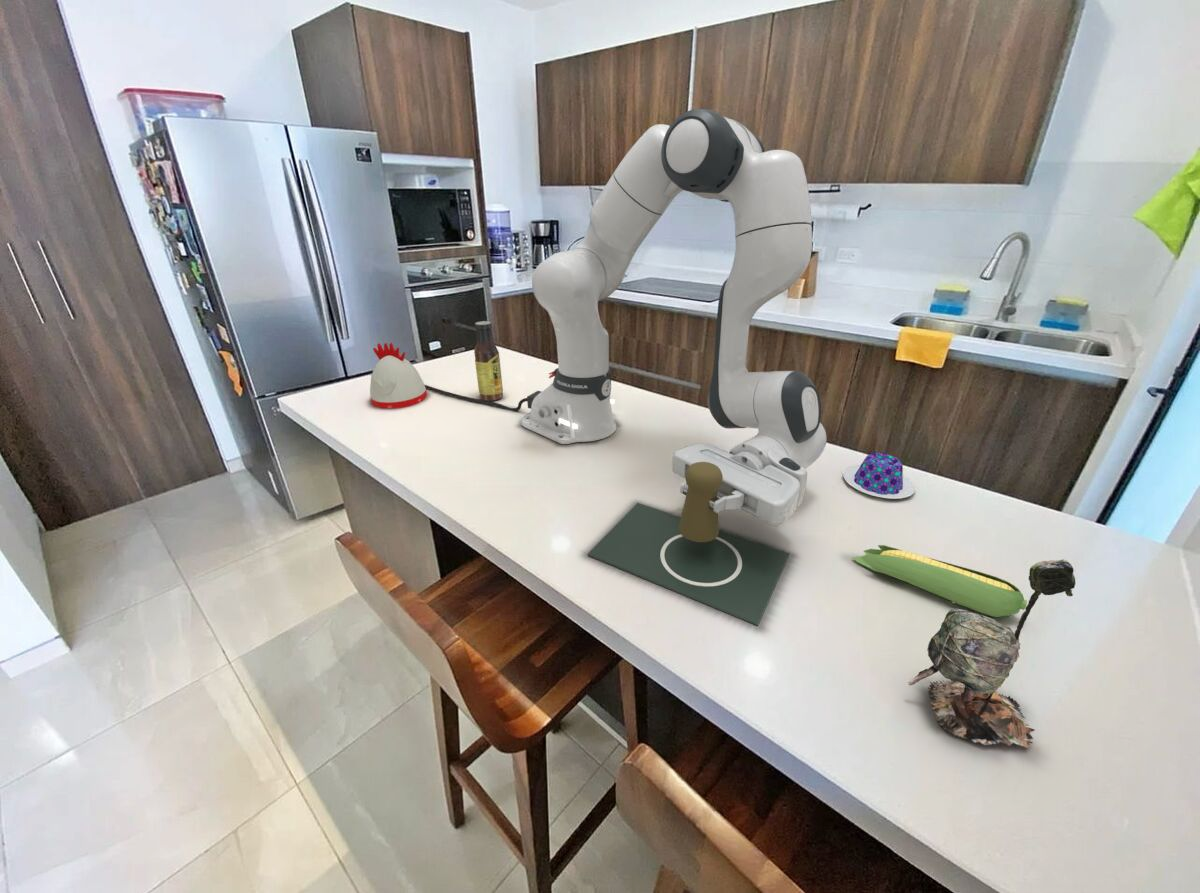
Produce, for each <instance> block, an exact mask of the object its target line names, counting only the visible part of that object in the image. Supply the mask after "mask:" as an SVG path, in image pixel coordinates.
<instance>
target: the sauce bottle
mask: <svg viewBox="0 0 1200 893" xmlns="http://www.w3.org/2000/svg"><path fill="white" fill-rule="evenodd" d="M474 327H475V330H476V340H477V342H476V345H475V346H474V348H473V350H474V351H473V352H474V364H475V371H476V372H475V373H476V379H477V388H478V393H479V399H480V400H484V401H490V402H494V401H498V400H500V399H501V398H503V396H504V395H503V394H504V392H503V391H504V387H503V376H502V369H501V359H500V352H499V350H498V347H497V345H496V344H495V341H494V337H493V330H492V328H493V326H492V322H491V321H489V320H488V321H487V320H482V321H477V322H475V323H474Z"/></svg>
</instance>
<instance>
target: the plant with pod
mask: <svg viewBox="0 0 1200 893" xmlns="http://www.w3.org/2000/svg"><path fill="white" fill-rule="evenodd" d="M1074 571H1075V569H1074V568H1073V566H1072V564H1071V563H1070V562H1069V561H1068V560H1067V559H1056V560H1055V559H1053V560H1042V561H1039V562H1038V561H1037V562H1036V563H1035V564H1033V565H1031V567H1030V568H1029V573H1028V574H1029V575H1028V581H1029V586H1030V588H1031V589H1032V590H1033V591H1034V592H1033V593H1032V594H1031V596H1030V597H1029V600H1028V602H1027V605H1026V608H1025V610H1023V612H1022V614H1021V617H1020V619H1019V620H1018V623H1017V625H1016V630H1015V631H1013V629H1012V628H1011V627H1009V626H1006V625H1005V624H1002V623H1000V622H999V621H998V620H995V619H994V618H991V617H990V616H989V617H988V616H987V615H984V614H981V613H976V612H974V611H969V610H967V609H960V608H950V610H949V611H948V612H946V614H945V617H944V619H943V622H942V623H941V625H940V628H939V629H938V631H937V632H936V633H934V635H933V636H932V637H931V638H930V640H929V642H928V644H927V650H926V651H927V656H928V658H929V659H930V661H931V662H932V665H931V666H930V667H929V668H925V669H923V670H921V671H919V672H918V674H917V675H916V676H915V677H913V678H912V679H910V681H907V685H908V686H913V685H915V684H916V683H918V682H920V681H921V680H924V679H926V678H928V677H930V676H933V675H934V674H937V673H938V672H939V673H940V674H941V675H942V676H943V677H944V678H945V679H947V680H946V681H945V680H944V679H942V681H941V679H940V680H939V679H938V680H936V681H929V683H930V684H929V687H927V688H928V692H929V694H928V695H929V696H930V705H933V707H932V708H931V709H932V710H933V713H934V714H935V718H936V719H935V720H936V722H937V721H938V725H940V726H941V727H942V728H943V730H945V731H947V732H949V734H951V735H952V736H955V737H957V736H958V737H959V738H962V739H965V740H967V739H968V740H969V741H972V742H973V743H980V744H981V745H984V746H986V745H987V746H989V745H992V744H993V745H999V744H1000V743H1002V744H1005V745H1006V746H1009V747H1011V746H1012V745H1013V744H1015V745H1017V746H1021V747H1024V748H1026V749H1029V748H1030V746H1031V745H1032V744H1033V741H1031V740H1033V739H1034V737H1033V736H1032V735H1031V734H1030V733H1033V732H1035V731H1036V729H1035V728H1031V727H1030V724H1028V723H1027V721H1026V720H1025V719H1027V718H1026V717H1025V715H1023V712H1022V708H1020V707H1021V704H1020V703H1019V702H1018V701H1017V700H1015V699H1014V698H1013V697H1011V696H1010V695H1008V696H1007V695H1004V694H1003V693H1002V694H1001V693H998V692H997V691H998V689H999V688H1001V687H1002V685H1003V684H1004V682H1005V681H1006V679H1008V678H1009V677H1010V672H1011V670H1012V669H1013V668H1014V665H1015V663H1016V662H1017V661H1018V659H1019V658H1020V652H1019V650H1020V649H1021V643H1020V639H1019V638H1020V635H1021V631H1022V629H1023V627H1024V624H1025V622H1026V621H1027V618H1028V616H1029V615H1030V613H1031V610H1032V608H1034V605H1035V604H1036V603H1037V601H1038V599H1039V598H1040V596H1041V595H1043V596H1053V595H1056V594H1061V593H1064V592H1065V595H1066V596H1067V597H1073V596H1074V594H1073V589H1075V587H1076V584H1077V582H1076V576H1075V575H1074ZM955 602H956V601H952V602H951V603H952V604H956V603H955Z"/></svg>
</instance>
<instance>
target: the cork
mask: <svg viewBox="0 0 1200 893" xmlns="http://www.w3.org/2000/svg"><path fill="white" fill-rule="evenodd" d="M684 479H685V481H686V484H687V485H688V490H687V494H686V496H685V498H684V502H683V507H682V511H681V515H680V517H681V519H680V523H679V527H678V528H679V532H680V533H681V535H682V536H684V537H685V538H686V539H689V540H691V541H695V542H708V541H712V540H714V539H715V538H716V537H717V536H718V534H719V530H720V521H719V519H720V518H719V513H716V512H714V511H712V510H711V509H709V500H710V499H712V498H714V497H715V496H716V495H718V493H717V490H718V489H719V488H720V486H721V483H722V479H723V476H722V472H721V470H720V468H719V467H718V466H716V465H714V464H712V463H709V462H696V463H693V464H692V465H690V466H689V467H688V469H687V471H686V474H685V478H684Z"/></svg>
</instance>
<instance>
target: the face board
mask: <svg viewBox="0 0 1200 893" xmlns="http://www.w3.org/2000/svg"><path fill="white" fill-rule="evenodd" d="M680 519H681V516H678V515H675V514H673V513H669V512H666V511H664V510H661V509H658V508H654V507H652V506H649V505H645V504H643V503H640V502H637V503H636V504H634V506H632V508H630V510H629V511H628V512H627V513H626V514H625V515H624V516H623V517H622V518H621V519H620V520H619V521H618V522H617V523H616V524H615V525H613V527H612V528H611V529H610V530H609V531H608V532H607V533H606V534H605V535H604V536H603V537H602V538H601V540H599V541H598V542H597V544H596V545H595V546H594V547H593V548H592V549H590V551H589V552H588V553H587V556H588V557H590V558H593V559H595V560H597V561H600V562H603V563H604V564H607V565H609V566H612V567H614V568H617V569H619V570H621V571H623V572H627V573H628V574H631V575H634V576H636V577H638V578H641V579H643V580H645V581H648V582H651V583H653V584H656V585H658V586H659V587H663V588H665V589H668V590H670V591H673V592H674V593H677V594H679V595H682V596H685V597H687V598H689V599H692V600H694V601H697V602H699V603H701V604H704V605H705V606H706V605H707V606H708V607H711V608H713V609H715V610H718V611H720V612H723V613H726V614H728V615H731V616H733V617H735V618H737V619H741V620H742V621H744V622H747V623H749V624H752V625H754V626H757V627H758V626H759V624H760V622H761V620H762V618H763V615H764V612H765V611H766V608H767V606H768V604H769V601H770V599H771V597H772V595H773V592H774V590H775V588H776V586H777V584H778V581H779V579H780V576H781V574H782V572H783V570H784V568H785V565H786V563H787V561H788V558H789V556H790V552H787V551H784V550H780V549H777V548H775V547H772V546H768V545H766V544H763V543H760V542H757V541H754V540H751V539H748V538H744V537H742V536H739V535H736V534H733V533H730V532H728V531H724V530H721V529H719V534H718V536H717V537H716V538H715V539H714V540H712V541H708V542H695V541H691V540H689V539H686V538H685V537H684V536H682V535H681V533H680V532H679V528H678V527H679V523H680Z"/></svg>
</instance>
